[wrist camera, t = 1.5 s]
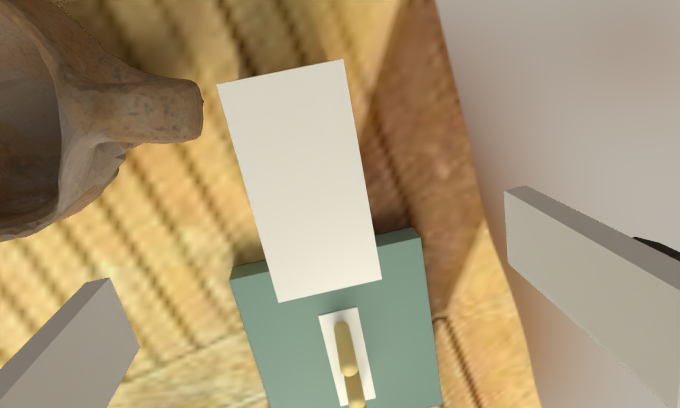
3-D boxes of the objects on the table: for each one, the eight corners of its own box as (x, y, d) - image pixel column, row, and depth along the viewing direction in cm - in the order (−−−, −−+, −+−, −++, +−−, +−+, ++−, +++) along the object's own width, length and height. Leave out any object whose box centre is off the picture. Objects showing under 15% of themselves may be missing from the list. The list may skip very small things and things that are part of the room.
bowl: (149, -101, 21) (86, -117, 13) (236, 134, 30) (230, 213, 21) (-193, -25, 21) (-480, 8, 13) (-5, 194, 29) (-105, 299, 21)
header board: (233, 267, 30) (217, 318, 24) (412, 227, 31) (442, 266, 25) (282, 423, 36) (280, 497, 30) (434, 386, 36) (463, 451, 30)
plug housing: (238, 79, 26) (216, 84, 18) (328, 61, 26) (343, 58, 19) (281, 243, 30) (278, 303, 23) (359, 226, 30) (382, 279, 23)
